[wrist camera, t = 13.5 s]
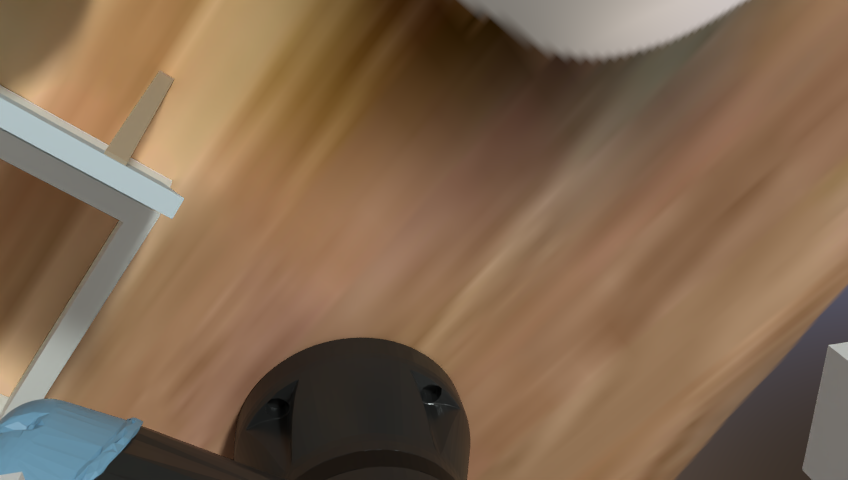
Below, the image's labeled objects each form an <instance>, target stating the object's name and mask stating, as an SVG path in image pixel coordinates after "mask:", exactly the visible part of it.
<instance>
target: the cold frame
mask: <svg viewBox="0 0 848 480" xmlns="http://www.w3.org/2000/svg"><path fill="white" fill-rule="evenodd" d="M173 80H174V78H172V77H170V76H169V75H167V74H165V73H164V72H162V71H159V72H158V74H157V75H156V77H155V78H154V80H153V81H152V83H151V84H150V86H149V87H148V88H147V90H146V91H145V93H144V94H143V96H142V97H141V99H140V100H139V102H138V103H137V105H136V106H135V108H134V109H133V111H132V112H131V114H130V115H129V117H128V118H127V119H126V121H125V122H124V124H123V125H122V127H121V128H120V130H119V131H118V133H117V134H116V136H115V137H114V139H113V140H112V142H111V143H110V145H107V144H106V143H104V142H102V141H100V140H98V139H97V138H95V137H93V136H91V135H89V134H88V133H86V132H84V131H82V130H80V129H79V128H77V127H75V126H73V125H71V124H70V123H68V122H66V121H64V120H62V119H61V118H59V117H57V116H55V115H53V114H52V113H50V112H48V111H46V110H44V109H43V108H41V107H39V106H37V105H35V104H34V103H32V102H30V101H28V100H26V99H25V98H23V97H21V96H19V95H17V94H16V93H14V92H12V91H10V90H8V89H7V88H5V87H3V86H1V85H0V159H2V160H4V161H6V162H8V163H10V164H12V165H14V166H16V167H17V168H19V169H21V170H23V171H25V172H27V173H29V174H31V175H33V176H35V177H37V178H39V179H41V180H43V181H44V182H46V183H48V184H50V185H52V186H54V187H56V188H58V189H60V190H62V191H64V192H66V193H68V194H70V195H71V196H73V197H75V198H77V199H79V200H81V201H83V202H85V203H87V204H89V205H91V206H93V207H95V208H97V209H98V210H100V211H102V212H104V213H106V214H108V215H110V216H112V217H114V218H116V219H118V220H119V221H118V223H117V225H116V226H115V228H114V229H113V231H112V233H111V234H110V236H109V237H108V239H107V241H106V242H105V244H104V246H103V247H102V249H101V250H100V252H99V254H98V255H97V257H96V258H95V260H94V262H93V263H92V265H91V266H90V268H89V270H88V271H87V273H86V274H85V276H84V278H83V279H82V281H81V283H80V284H79V286H78V287H77V289H76V291H75V292H74V294H73V295H72V297H71V299H70V300H69V302H68V303H67V305H66V307H65V308H64V310H63V311H62V313H61V315H60V316H59V318H58V320H57V321H56V323H55V324H54V326H53V328H52V329H51V331H50V332H49V334H48V336H47V337H46V339H45V340H44V342H43V344H42V345H41V347H40V348H39V350H38V352H37V353H36V355H35V357H34V358H33V360H32V361H31V363H30V365H29V366H28V368H27V369H26V371H25V373H24V374H23V376H22V377H21V379H20V381H19V382H18V384H17V385H16V387H15V389H14V390H13V392H12V393H11V395H10V397H7V396H4V395H2V394H0V420H1V419H2V418H3V417H4V416H5V415H6V414H7V413H9V412H10V411H11V410H13V409H14V408H16V407H18V406H20V405H22V404H24V403H27V402H30V401H34V400H39V399H44V397H45V395H46V394H47V392H48V391H49V389H50V388H51V386H52V384H53V383H54V381H55V380H56V378H57V377H58V375H59V373H60V372H61V370H62V369H63V367H64V366H65V364H66V362H67V361H68V359H69V358H70V356H71V355H72V353H73V351H74V350H75V348H76V347H77V345H78V344H79V342H80V340H81V339H82V337H83V336H84V334H85V333H86V331H87V329H88V328H89V326H90V325H91V323H92V322H93V320H94V318H95V317H96V315H97V314H98V312H99V311H100V309H101V307H102V306H103V304H104V303H105V301H106V300H107V298H108V296H109V295H110V293H111V292H112V290H113V289H114V287H115V285H116V284H117V282H118V281H119V279H120V278H121V276H122V274H123V273H124V271H125V270H126V268H127V267H128V265H129V263H130V262H131V260H132V259H133V257H134V256H135V254H136V252H137V251H138V249H139V248H140V246H141V245H142V243H143V241H144V240H145V238H146V237H147V235H148V234H149V232H150V230H151V229H152V227H153V226H154V224H155V223H156V221H157V219H158V218H159V216H160V215H161V213H162V214H164V215H165V216H167V217H169V218H171V219H172V218H173V217H174V215H175V213H176V212H177V210H178V208H179V207H180V205H181V203H182V202H183V200H184V198H183V197H181V196H180V195H179V194H177V193H176V192H175V191H173V190H172V189H171V188H170V187H171V184H172V180H170V179H169V178H167V177H165V176H163V175H161V174H160V173H158V172H156V171H154V170H152V169H151V168H149V167H147V166H145V165H143V164H142V163H140V162H138V161H136V160H134V159H133V158H131V156H132V154H133V152H134V150H135V148H136V147H137V145H138V143H139V141H140V139H141V138H142V136H143V134H144V132H145V130H146V129H147V127H148V125H149V123H150V122H151V120H152V118H153V116H154V114H155V113H156V111H157V109H158V107H159V105H160V104H161V102H162V100H163V98H164V96H165V95H166V93H167V91H168V89H169V88H170V86H171V84H172V82H173Z"/></svg>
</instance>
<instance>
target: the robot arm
mask: <svg viewBox="0 0 848 480" xmlns="http://www.w3.org/2000/svg"><path fill="white" fill-rule="evenodd" d="M142 424H143V421H141V420H139V419H137V418H130V419H127V420H124V419H121V418H118V417H115V416H111V415H108V414H105V413H102V412H98V411H95V410H92V409H88V408H85V407H82V406H79V405H75V404H72V403H69V402H66V401H62V400H57V399H39V400H34V401H30V402H27V403H24V404H22V405H20V406H18V407H16V408H14V409H13V410H11V411H10V412H9V413H7V414H6V415H5V416H4V417H3V418H2V419H1V420H0V480H467V474H468V464H469V454H470V431H469V424H468V420H467V416H466V413H465V410H464V408H463V405H462V402H461V400H460V397H459V395H458V392H457V390H456V388H455V386H454V384H453V383H452V381H451V379H450V378H449V377H448V375H447V374H446V373H445V372H444V371H443V369H442V368H441V367H440V366H439V365H437V364H436V363H435V362H434V361H433V360H431V359H430V358H429V357H427V356H426V355H424V354H422V353H421V352H419V351H417V350H415V349H413V348H411V347H408V346H406V345H403V344H400V343H396V342H393V341H388V340H383V339H375V338H347V339H340V340H334V341H329V342H325V343H322V344H318V345H315V346H312V347H310V348H307V349H305V350H303V351H300V352H298V353H296V354H294V355H293V356H291V357H289V358H287V359H286V360H284V361H283V362H281V363H280V364H278V365H277V366H276V367H274V368H273V369H272V370H271V371H270V372H268V373H267V374H266V375H265V376H264V377H263V378H262V379H261V380H260V381H259V383H258V384H257V385H256V386H255V387H254V389H253V390H252V391H251V393H250V395H249V396H248V398H247V399H246V401H245V403H244V405H243V407H242V410H241V412H240V415H239V418H238V421H237V426H236V432H235V445H234V460H231V459H228V458H226V457H223V456H220V455H218V454H215V453H212V452H210V451H207V450H204V449H202V448H199V447H196V446H194V445H191V444H188V443H186V442H183V441H180V440H178V439H175V438H172V437H170V436H167V435H164V434H162V433H159V432H156V431H154V430H151V429H148V428H146V427H143V426H141V425H142ZM802 470H803V471H804V472H805V473H806V474H807V475H808V476H809V477H810V478H811V479H812V480H848V342H846V343H840V344H834V345H828V349H827V355H826V359H825V364H824V368H823V373H822V378H821V383H820V388H819V393H818V397H817V402H816V407H815V411H814V416H813V421H812V426H811V431H810V435H809V440H808V445H807V450H806V455H805V459H804V464H803V469H802Z"/></svg>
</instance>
